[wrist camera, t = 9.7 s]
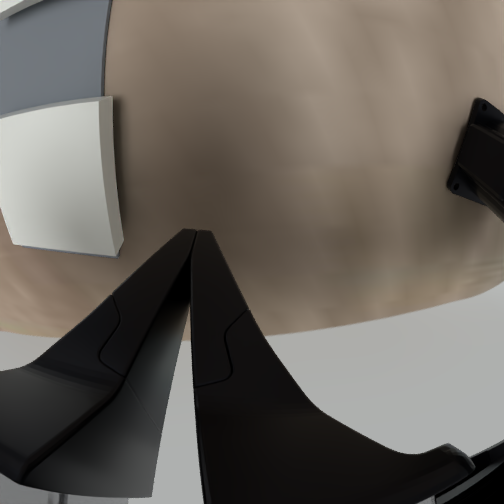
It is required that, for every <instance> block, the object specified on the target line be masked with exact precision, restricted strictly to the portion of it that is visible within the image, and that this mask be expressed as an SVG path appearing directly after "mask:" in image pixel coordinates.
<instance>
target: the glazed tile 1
mask: <svg viewBox="0 0 504 504" xmlns="http://www.w3.org/2000/svg"><path fill="white" fill-rule="evenodd" d="M40 1H43V0H0V21H1V20H3V19H5V18H7V17H9V16H11V15H13V14H15V13H16V12H18V11H21V10H23V9H25V8H27V7H29V6H31V5H33V4H36V3H38V2H40Z"/></svg>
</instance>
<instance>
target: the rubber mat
mask: <svg viewBox="0 0 504 504" xmlns="http://www.w3.org/2000/svg"><path fill="white" fill-rule="evenodd" d="M111 3H112V0H43V1H40V2H38V3H36V4H33V5H31V6H29V7H27V8H25V9H23V10H21V11H18V12H16V13H15V14H13V15H11V16H9V17H7V18H5V19H3V20H1V21H0V115H3V114H7V113H11V112H15V111H18V110H23V109H27V108H31V107H36V106H41V105H46V104H51V103H57V102H63V101H69V100H76V99H84V98H92V97H102V96H104V68H105V53H106V41H107V32H108V23H109V16H110V9H111ZM22 246H23V245H22ZM23 247H26V248H34V249H41V250H49V251H57V252H65V253H74V254H82V255H90V256H99V257H108V258H117V259H118V258H119V256H120V255H119V251H118V253H117V255H116V256H107V255H98V254H89V253H80V252H72V251H63V250H55V249H47V248H39V247H31V246H23Z"/></svg>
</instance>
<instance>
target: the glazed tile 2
mask: <svg viewBox="0 0 504 504" xmlns="http://www.w3.org/2000/svg"><path fill="white" fill-rule="evenodd" d="M0 207H1V210H2V213H3V216H4V219H5V222H6V225H7V228H8V231H9V234H10V236H11V239H12V242H13V244H16V245H23V246H31V247H39V248H47V249H55V250H63V251H72V252H80V253H89V254H98V255H107V256H116V255H117V253H118V251H119V249H120V247H121V245H122V243H123V241H124V237H123V231H122V224H121V217H120V210H119V202H118V193H117V184H116V173H115V160H114V142H113V96H102V97H92V98H84V99H76V100H69V101H63V102H57V103H51V104H46V105H41V106H36V107H31V108H27V109H23V110H18V111H15V112H11V113H7V114H3V115H0Z"/></svg>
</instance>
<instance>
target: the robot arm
mask: <svg viewBox="0 0 504 504" xmlns="http://www.w3.org/2000/svg"><path fill="white" fill-rule="evenodd" d="M482 105H483V106H482ZM454 185H455V186H454ZM447 188H448V189H449V190H450V191H451V192H452V193H453V194H456V195H459V196H461V197H464V198H467V199H469V200H472V201H475V202H477V203H480V204H482V205H485V206H487V207H489V208H490V209H491V210H492V211H493V212H494V213H495V214H496V215H497V216H498V217H499V218H500V219H501V220H502V221H503V223H504V114H503V113H502V112H500V111H499V110H498V109H497V108H495V107H494V106H493V105H492V104H490V103H489V102H488V101H486V100H484V99H482V98H478V99H476V101H475V105H474V108H473V112H472V116H471V119H470V122H469V126H468V129H467V132H466V135H465V138H464V141H463V144H462V147H461V150H460V152H459V155H458V158H457V160H456V163H455V166H454V168H453V171H452V173H451V176H450V178H449V181H448V184H447ZM189 307H190V322H191V353H192V374H193V389H194V405H195V419H196V433H197V444H198V457H199V467H200V476H201V485H202V493H203V501H204V504H504V440H502V441H500V442H499V443H497V444H495V445H493V446H491V447H489V448H487V449H485V450H483V451H481V452H479V453H477V454H475V455H473V456H471V457H468V456H467V455H466V454H465V453H464V452H462V451H461V450H459V449H457V448H456V447H454V446H452V445H451V444H448V443H447V444H444V445H441V446H439V447H437V448H434V449H432V450H430V451H427V452H425V453H421V454H404V453H400V452H397V451H394V450H392V449H389V448H387V447H385V446H383V445H381V444H379V443H377V442H375V441H374V440H371V439H369V438H368V437H366V436H364V435H362V434H360V433H358V432H357V431H355V430H353V429H351V428H349V427H348V426H346V425H344V424H342V423H341V422H339V421H337V420H335V419H334V418H332V417H330V416H329V415H327V414H325V413H324V412H323V411H321V410H320V409H319V408H318V407H316V406H315V405H314V404H313V403H312V402H311V401H310V400H309V398H308V397H307V396H306V395H305V393H304V392H303V391H302V390H301V388H300V387H299V386H298V384H297V383H296V381H295V380H294V379H293V377H292V376H291V375H290V373H289V372H288V371H287V369H286V368H285V366H284V365H283V364H282V362H281V361H280V359H279V358H278V357H277V355H276V354H275V352H274V351H273V349H272V348H271V346H270V345H269V343H268V342H267V340H266V339H265V337H264V335H263V334H262V332H261V330H260V328H259V326H258V325H257V323H256V321H255V319H254V317H253V315H252V313H251V311H250V310H249V307H248V305H247V303H246V301H245V299H244V297H243V295H242V293H241V291H240V289H239V287H238V285H237V283H236V281H235V279H234V277H233V275H232V273H231V270H230V268H229V266H228V264H227V262H226V260H225V258H224V256H223V254H222V252H221V250H220V248H219V245H218V243H217V241H216V239H215V237H214V235H213V233H212V231H207V230H198V231H197V230H195V229H186V228H184V229H182V230H181V231H180V232H179V233H177V234H176V235H175V236H174V237H173V238H172V239H170V240H169V241H168V242H167V243H166V244H165V245H164V246H162V247H161V248H160V249H159V250H158V251H157V252H156V253H155V254H153V255H152V256H151V257H150V258H149V259H148V260H147V261H146V262H145V263H143V264H142V265H141V266H140V267H139V268H138V269H137V270H136V271H135V272H134V273H133V274H131V275H130V276H129V277H128V278H127V279H126V280H125V281H124V282H123V283H122V284H121V285H120V286H119V287H118V288H117V289H116V290H115V291H113V292H112V295H109V296H108V297H107V298H106V299H105V300H104V301H103V302H102V303H101V304H100V305H99V306H98V307H97V308H96V309H94V310H93V311H92V312H91V313H90V314H89V315H88V316H87V317H86V318H85V319H83V320H82V321H81V322H80V323H79V324H78V325H76V326H75V327H74V328H73V329H72V330H70V331H69V332H68V333H67V334H66V335H64V336H63V337H62V338H61V339H60V340H59V341H57V342H56V343H55V344H54V345H53V346H51V347H50V348H49V349H48V350H47V351H46V352H44V353H43V354H42V355H41V356H40V357H38V358H37V359H36V360H34V361H33V362H31V363H29V364H27V365H25V366H22V367H20V368H16V369H11V370H5V371H0V504H128V498H145V497H152V490H153V483H154V477H155V470H156V464H157V458H158V452H159V447H160V441H161V436H162V435H161V433H162V430H163V424H164V419H165V414H166V408H167V404H168V399H169V394H170V390H171V385H172V380H173V376H174V371H175V366H176V362H177V357H178V353H179V349H180V345H181V340H182V336H183V332H184V328H185V324H186V320H187V316H188V312H189Z"/></svg>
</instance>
